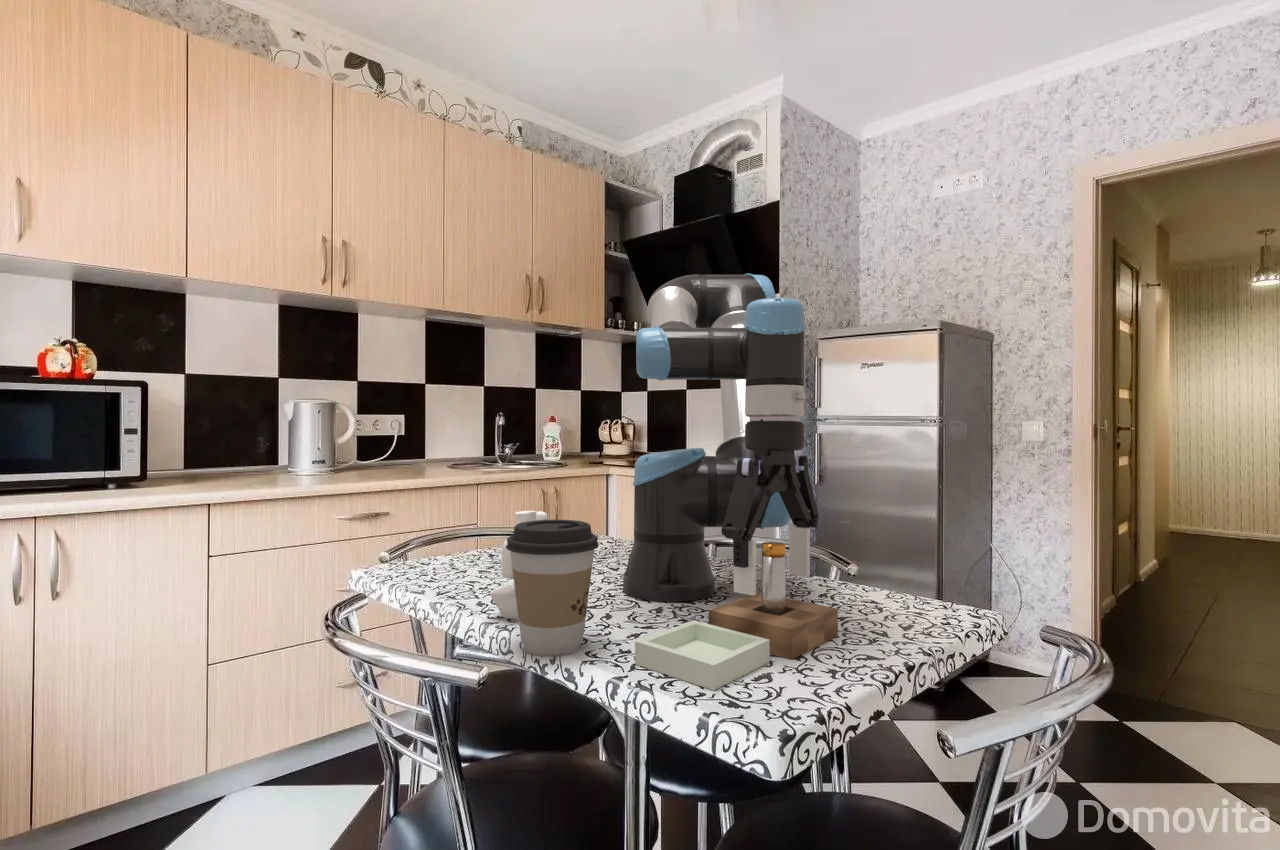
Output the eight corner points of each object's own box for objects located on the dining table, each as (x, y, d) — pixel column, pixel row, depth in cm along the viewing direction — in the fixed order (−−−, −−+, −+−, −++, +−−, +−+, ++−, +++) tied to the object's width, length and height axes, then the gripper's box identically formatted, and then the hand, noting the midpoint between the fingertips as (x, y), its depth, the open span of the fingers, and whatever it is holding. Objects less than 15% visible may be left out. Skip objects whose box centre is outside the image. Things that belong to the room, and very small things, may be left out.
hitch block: (708, 637, 85) (708, 610, 85) (758, 617, 94) (758, 592, 94) (792, 659, 77) (792, 629, 77) (837, 635, 86) (837, 608, 86)
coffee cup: (586, 666, 74) (586, 533, 74) (490, 660, 76) (491, 530, 76) (607, 634, 85) (607, 519, 85) (523, 629, 87) (524, 517, 87)
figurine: (484, 621, 91) (484, 513, 91) (522, 604, 100) (522, 505, 100) (528, 627, 88) (529, 516, 88) (563, 610, 97) (564, 508, 97)
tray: (635, 664, 75) (635, 641, 75) (693, 640, 83) (693, 620, 83) (713, 690, 68) (713, 665, 68) (769, 662, 76) (769, 639, 76)
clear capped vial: (757, 636, 85) (757, 543, 85) (769, 631, 87) (769, 540, 87) (777, 641, 83) (778, 546, 83) (789, 636, 85) (789, 543, 85)
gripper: (746, 418, 73) (745, 608, 73) (843, 420, 92) (843, 572, 92) (692, 418, 78) (691, 596, 78) (795, 420, 97) (795, 564, 97)
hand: (773, 583), depth 85 cm, fingers open, 13 cm apart
